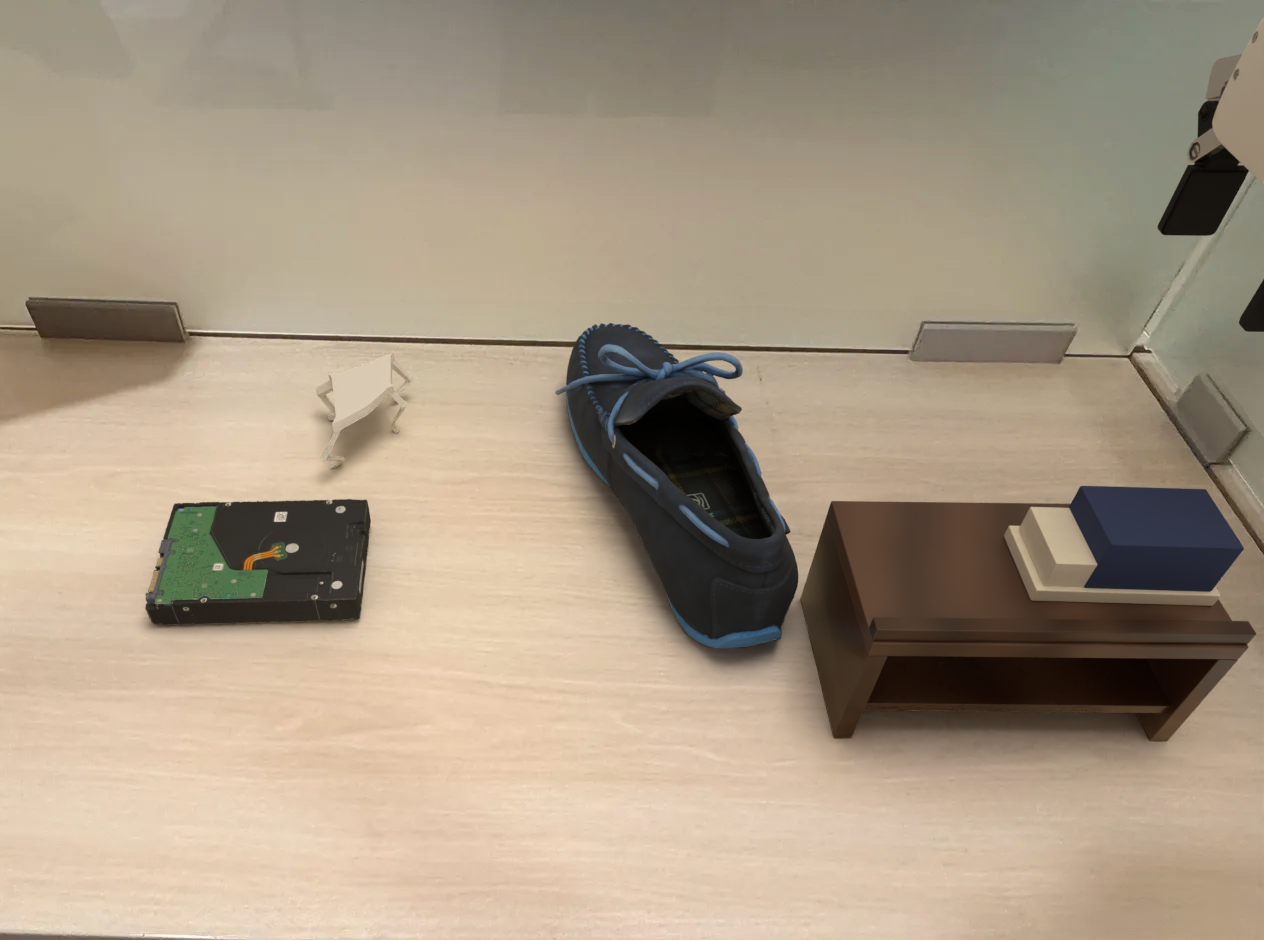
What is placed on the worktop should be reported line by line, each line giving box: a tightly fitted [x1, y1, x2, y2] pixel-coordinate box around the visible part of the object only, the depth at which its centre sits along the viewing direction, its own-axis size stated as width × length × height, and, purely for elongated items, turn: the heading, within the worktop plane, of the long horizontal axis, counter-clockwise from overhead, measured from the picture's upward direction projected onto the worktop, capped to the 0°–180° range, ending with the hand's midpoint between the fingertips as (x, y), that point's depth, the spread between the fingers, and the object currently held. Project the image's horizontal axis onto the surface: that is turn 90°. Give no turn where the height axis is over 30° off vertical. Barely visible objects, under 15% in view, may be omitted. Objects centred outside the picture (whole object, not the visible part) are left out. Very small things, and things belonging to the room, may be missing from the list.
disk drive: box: [145, 498, 372, 626], centre depth 72 cm, size 10×3×15 cm
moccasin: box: [555, 322, 799, 649], centre depth 75 cm, size 14×34×12 cm, turn 21°
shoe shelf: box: [800, 500, 1257, 742], centre depth 64 cm, size 22×12×11 cm, turn 90°
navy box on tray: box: [1004, 485, 1245, 606], centre depth 59 cm, size 11×6×5 cm, turn 89°
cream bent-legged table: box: [315, 352, 414, 470], centre depth 82 cm, size 12×8×5 cm
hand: (1224, 278), depth 54 cm, fingers open, 9 cm apart
